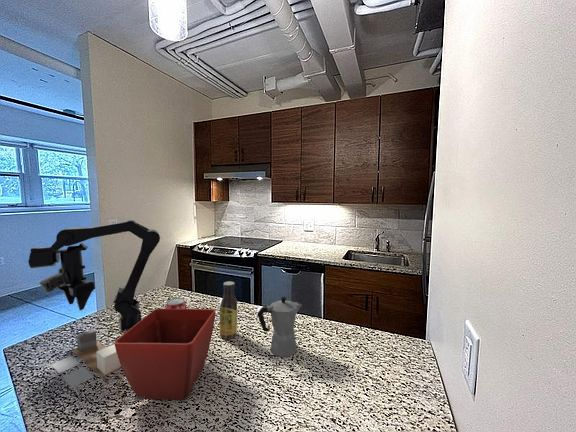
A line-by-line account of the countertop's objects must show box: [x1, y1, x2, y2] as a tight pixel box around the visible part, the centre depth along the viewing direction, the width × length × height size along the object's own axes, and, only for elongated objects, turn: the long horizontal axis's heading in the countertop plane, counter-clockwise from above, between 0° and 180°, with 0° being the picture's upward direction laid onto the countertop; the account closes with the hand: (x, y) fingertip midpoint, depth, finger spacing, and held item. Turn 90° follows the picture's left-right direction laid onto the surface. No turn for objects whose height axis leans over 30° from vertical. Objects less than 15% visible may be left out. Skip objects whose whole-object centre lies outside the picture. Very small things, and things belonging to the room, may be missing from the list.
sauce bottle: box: [219, 280, 238, 340], centre depth 94 cm, size 6×6×20 cm
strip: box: [72, 329, 122, 378], centre depth 80 cm, size 22×7×6 cm, turn 57°
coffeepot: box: [256, 296, 303, 358], centre depth 85 cm, size 15×9×18 cm, turn 110°
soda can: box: [164, 297, 188, 309], centre depth 95 cm, size 7×7×13 cm
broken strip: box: [50, 355, 95, 389], centre depth 74 cm, size 17×5×1 cm, turn 56°
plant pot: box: [113, 308, 216, 401], centre depth 71 cm, size 19×19×17 cm
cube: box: [96, 343, 122, 374], centre depth 76 cm, size 5×5×5 cm
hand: (76, 306), depth 92 cm, fingers open, 9 cm apart
